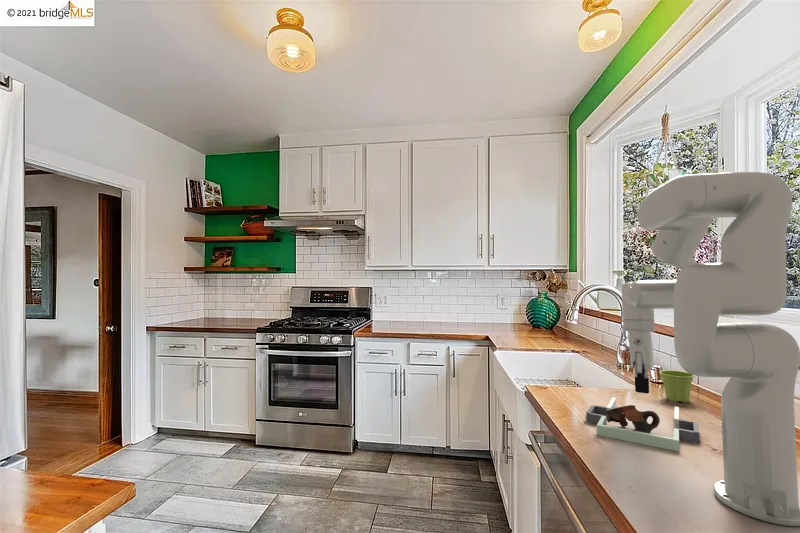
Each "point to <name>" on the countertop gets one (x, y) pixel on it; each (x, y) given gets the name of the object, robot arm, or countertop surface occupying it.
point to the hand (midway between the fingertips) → (642, 392)
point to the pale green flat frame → (682, 431)
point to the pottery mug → (633, 418)
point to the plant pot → (677, 385)
